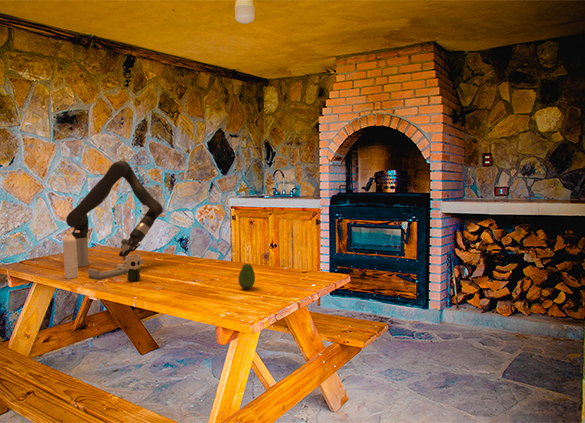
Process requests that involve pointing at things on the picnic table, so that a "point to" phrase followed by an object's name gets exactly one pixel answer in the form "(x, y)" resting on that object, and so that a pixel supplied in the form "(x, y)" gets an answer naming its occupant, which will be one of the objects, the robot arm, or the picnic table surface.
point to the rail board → (106, 273)
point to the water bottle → (70, 256)
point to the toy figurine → (133, 266)
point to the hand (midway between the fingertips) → (122, 256)
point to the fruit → (246, 277)
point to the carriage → (124, 248)
